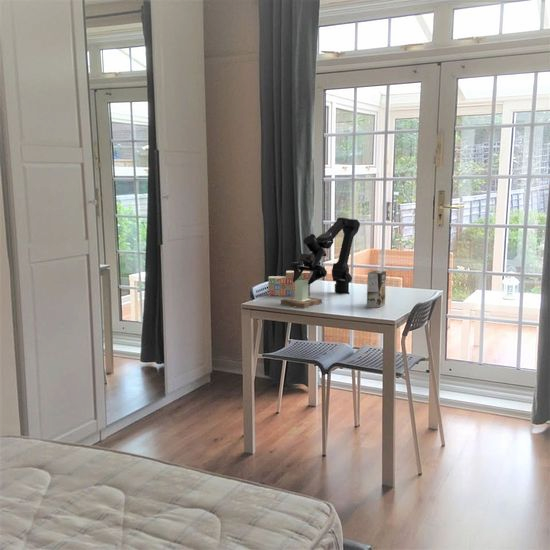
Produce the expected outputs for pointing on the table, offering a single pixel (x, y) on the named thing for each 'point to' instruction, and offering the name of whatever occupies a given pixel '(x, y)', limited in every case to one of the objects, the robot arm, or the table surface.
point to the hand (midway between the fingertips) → (300, 283)
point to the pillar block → (301, 290)
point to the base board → (301, 302)
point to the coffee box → (376, 288)
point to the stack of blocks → (286, 284)
